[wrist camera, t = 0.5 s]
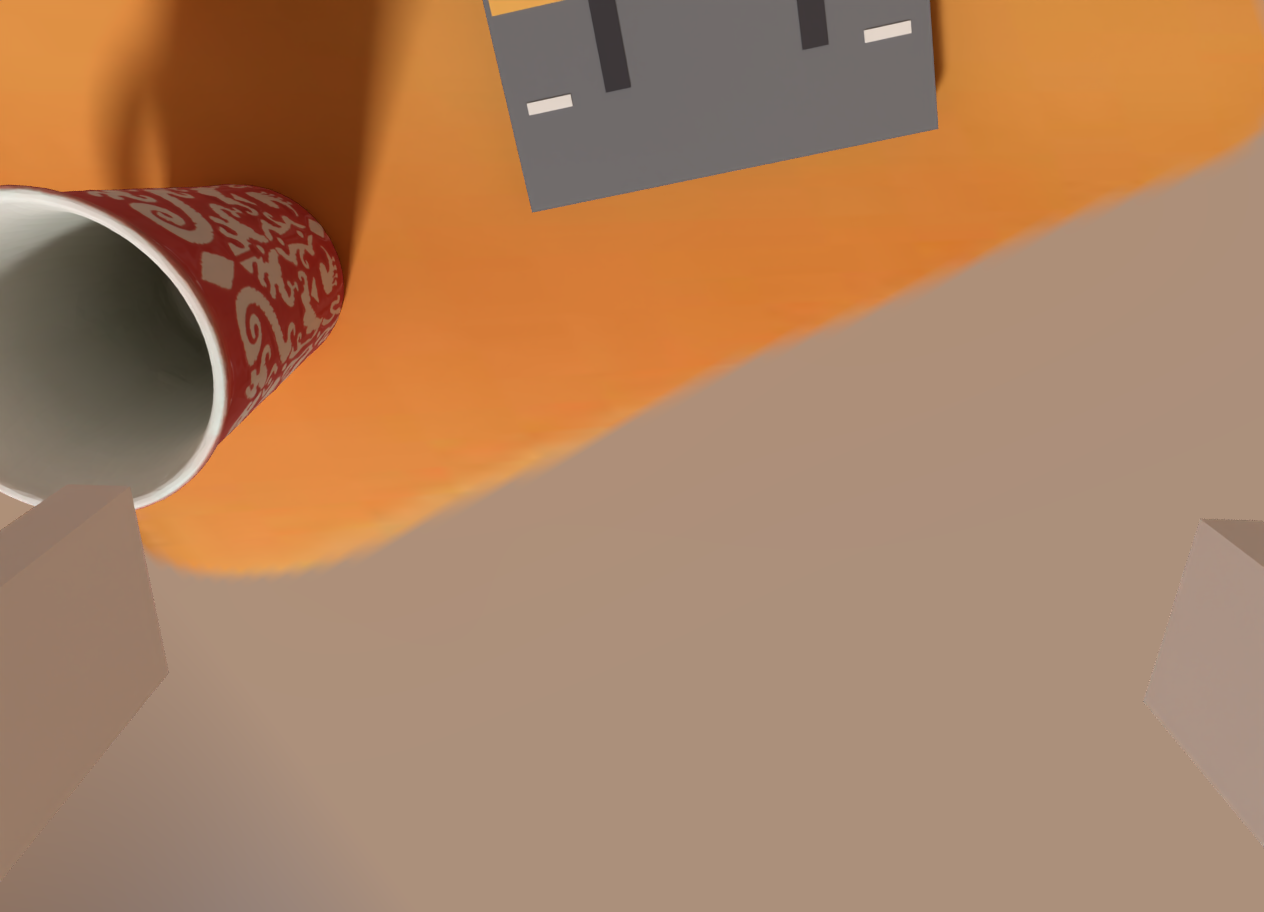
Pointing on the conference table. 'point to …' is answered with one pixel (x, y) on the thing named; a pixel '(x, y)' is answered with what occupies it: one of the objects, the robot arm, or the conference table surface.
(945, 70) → the conference table surface
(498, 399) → the conference table surface
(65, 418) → the mug
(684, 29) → the console
